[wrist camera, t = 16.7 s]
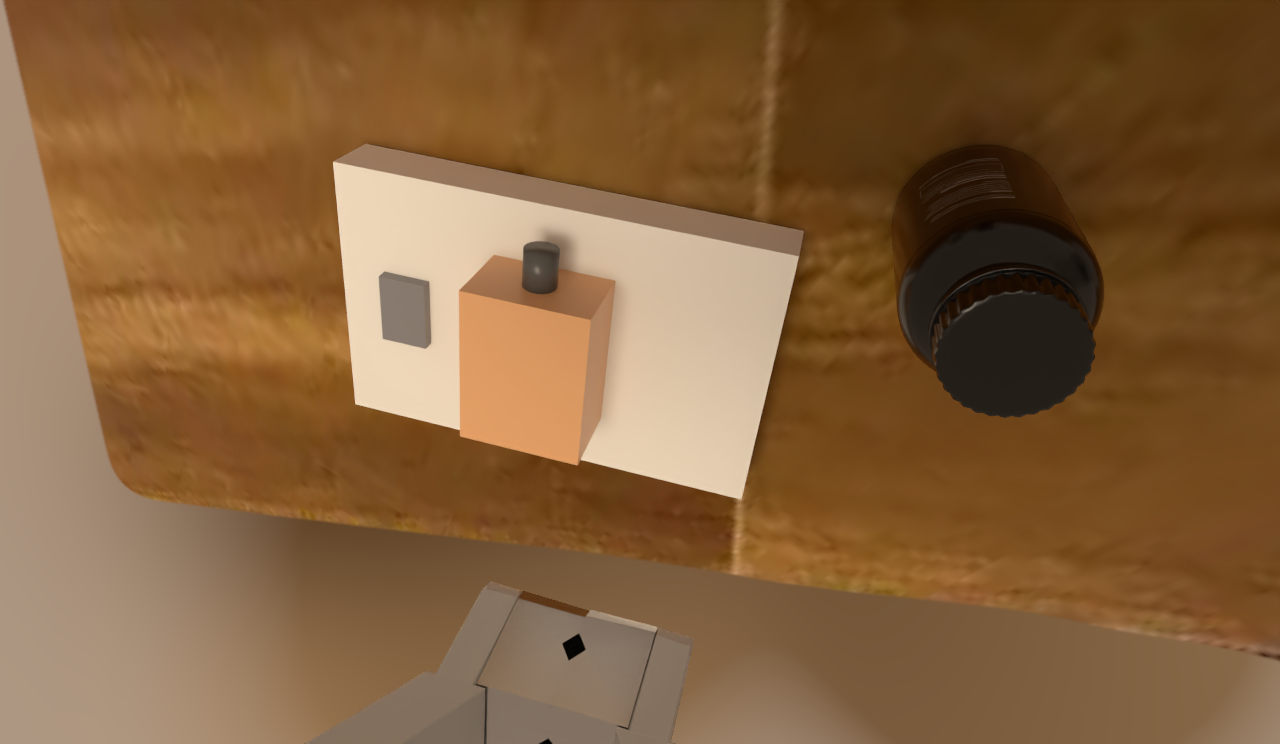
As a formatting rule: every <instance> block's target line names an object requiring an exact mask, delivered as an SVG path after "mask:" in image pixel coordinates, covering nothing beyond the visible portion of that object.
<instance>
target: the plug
mask: <svg viewBox="0 0 1280 744" xmlns="http://www.w3.org/2000/svg"><path fill="white" fill-rule="evenodd" d="M559 259H560V248H559V247H558V246H557V245H555V244H553V243H549V242H544V241H534V242H530V243H527V244H525V245H524V247H523V261H521V260H516V259H512V258H507V257H502V256H498V255H493V256H492V257H491V258H490V259H489V260H488V261H487V262H486V263H485V264H484V266H483V267H482V268H481V269H480V270H479V271H478V272H477V273H476V274H475V275H474V276H473V277H472V278H471V279H470V280H469V281H468V282H467V283H466V284H465V285H464V286H463V287H462V288H461V289H460V290H459V374H460V436H461V437H465V438H469V439H473V440H477V441H481V442H485V443H489V444H493V445H497V446H501V447H505V448H509V449H513V450H517V451H521V452H526V453H530V454H534V455H538V456H542V457H546V458H550V459H554V460H558V461H562V462H566V463H570V464H574V465H578V464H579V462H580V460H581V458H582V456H583V454H584V452H585V450H586V448H587V446H588V444H589V442H590V440H591V438H592V436H593V434H594V432H595V430H596V428H597V425H598V423H599V421H600V419H601V413H602V403H603V394H604V385H605V375H606V366H607V356H608V347H609V338H610V328H611V319H612V310H613V300H614V291H615V282H616V281H615V280H610V279H605V278H601V277H596V276H591V275H587V274H582V273H577V272H573V271H568V270H563V269H559Z"/></svg>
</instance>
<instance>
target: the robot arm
mask: <svg viewBox="0 0 1280 744" xmlns="http://www.w3.org/2000/svg"><path fill="white" fill-rule="evenodd" d="M693 641H694V638H693V637H689V636H685V635H681V634H678V633H674V632H671V631H667V630H663V629H660V628H659V629H658V627H655V626H651V625H647V624H643V623H640V622H635V621H631V620H628V619H624V618H620V617H616V616H613V615H609V614H605V613H601V612H597V611H593V610H590V611H588V610H585V609H582V608H578V607H574V606H572V605H568V604H565V603H562V602H559V601H555V600H552V599H548V598H545V597H542V596H539V595H535V594H532V593H529V592H525V591H521V590H518V589H515V588H511V587H507V586H504V585H500V584H497V583H494V582H489V583H488V584H487V585H486V586H485V587H484V588H483V589H482V590H481V592H480V594H479V596H478V598H477V599H476V601H475V603H474V605H473V607H472V609H471V610H470V612H469V614H468V616H467V618H466V620H465V621H464V623H463V625H462V627H461V629H460V631H459V632H458V634H457V636H456V638H455V640H454V642H453V644H452V645H451V647H450V649H449V651H448V653H447V654H446V656H445V658H444V660H443V662H442V664H441V665H440V667H439V669H438V671H437V673H432V672H428V671H425V672H424V673H422V674H420V675H418V676H417V677H415V678H413V679H412V680H410V681H408V682H407V683H405V684H404V685H402V686H400V687H399V688H397V689H395V690H394V691H392V692H390V693H389V694H387V695H385V696H384V697H382V698H380V699H379V700H377V701H375V702H374V703H372V704H370V705H369V706H367V707H365V708H364V709H362V710H360V711H359V712H357V713H355V714H354V715H352V716H350V717H349V718H347V719H346V720H344V721H342V722H340V723H339V724H337V725H335V726H334V727H332V728H330V729H329V730H327V731H325V732H324V733H322V734H320V735H319V736H317V737H315V738H314V739H312V740H310V741H309V742H307V743H306V744H675V743H671V739H672V735H673V731H674V727H675V722H676V717H677V713H678V709H679V705H680V700H681V696H682V691H683V687H684V682H685V678H686V673H687V669H688V665H689V661H690V656H691V652H692V647H693Z"/></svg>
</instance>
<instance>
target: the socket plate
mask: <svg viewBox="0 0 1280 744" xmlns="http://www.w3.org/2000/svg"><path fill="white" fill-rule="evenodd" d="M333 167H334V178H335V188H336V199H337V210H338V221H339V231H340V242H341V253H342V264H343V275H344V285H345V296H346V307H347V318H348V328H349V339H350V350H351V361H352V372H353V382H354V393H355V404H357V405H361V406H365V407H369V408H373V409H377V410H381V411H385V412H389V413H393V414H397V415H401V416H406V417H410V418H414V419H418V420H422V421H426V422H430V423H434V424H438V425H442V426H446V427H450V428H454V429H458V430H460V374H459V290H460V289H461V288H462V287H463V286H464V285H465V284H466V283H467V282H468V281H469V280H470V279H471V278H472V277H473V276H474V275H475V274H476V273H477V272H478V271H479V270H480V269H481V268H482V267H483V266H484V264H485V263H486V262H487V261H488V260H489V259H490V258H491V257H492V256H493V255H498V256H502V257H507V258H512V259H516V260H521V261H523V247H524V245H525V244H527V243H530V242H534V241H544V242H549V243H553V244H555V245H557V246H558V247H559V248H560V259H559V269H563V270H568V271H573V272H577V273H582V274H587V275H591V276H596V277H601V278H605V279H610V280H615V281H616V282H615V291H614V300H613V310H612V319H611V328H610V338H609V347H608V356H607V366H606V375H605V385H604V394H603V403H602V413H601V419H600V421H599V423H598V425H597V428H596V430H595V432H594V434H593V436H592V438H591V440H590V442H589V444H588V446H587V448H586V450H585V452H584V454H583V456H582V458H581V460H584V461H588V462H592V463H596V464H600V465H604V466H608V467H612V468H616V469H620V470H624V471H628V472H632V473H636V474H640V475H644V476H648V477H652V478H656V479H660V480H664V481H669V482H673V483H677V484H681V485H685V486H689V487H693V488H697V489H701V490H705V491H709V492H713V493H717V494H721V495H725V496H729V497H733V498H737V499H741V498H742V494H743V490H744V486H745V482H746V477H747V473H748V469H749V465H750V461H751V457H752V452H753V448H754V444H755V440H756V436H757V431H758V427H759V423H760V419H761V415H762V410H763V406H764V402H765V398H766V394H767V389H768V385H769V381H770V377H771V373H772V368H773V364H774V360H775V356H776V352H777V347H778V343H779V339H780V335H781V331H782V326H783V322H784V318H785V314H786V310H787V305H788V301H789V297H790V293H791V289H792V284H793V280H794V276H795V272H796V268H797V263H798V259H799V255H800V250H801V245H802V239H803V234H804V231H802V230H797V229H792V228H787V227H782V226H777V225H772V224H767V223H762V222H757V221H752V220H747V219H742V218H737V217H732V216H727V215H722V214H717V213H712V212H707V211H702V210H697V209H692V208H687V207H682V206H677V205H672V204H667V203H661V202H656V201H651V200H646V199H641V198H636V197H631V196H626V195H621V194H616V193H611V192H606V191H601V190H596V189H591V188H586V187H581V186H576V185H571V184H566V183H561V182H556V181H551V180H546V179H541V178H536V177H531V176H526V175H521V174H516V173H510V172H505V171H500V170H495V169H490V168H485V167H480V166H475V165H470V164H465V163H460V162H455V161H450V160H445V159H440V158H435V157H430V156H425V155H420V154H415V153H410V152H405V151H400V150H395V149H390V148H385V147H380V146H375V145H370V144H364V145H363V146H361V147H359V148H357V149H355V150H353V151H352V152H350V153H348V154H346V155H344V156H343V157H341V158H339V159H337V160H335V161H333Z"/></svg>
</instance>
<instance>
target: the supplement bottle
mask: <svg viewBox="0 0 1280 744" xmlns="http://www.w3.org/2000/svg"><path fill="white" fill-rule="evenodd" d="M892 246H893V260H894V273H895V287H896V301H897V311H898V318H899V322H900V326H901V330H902V332H903V335H904V337H905V339H906V341H907V343H908V345H909V346H910V348H911V349H912V351H913V352H914V353H915V354H916V355H917V357H918V358H919V359H920V360H921V361H922V362H923V363H925V364H926V365H927V366H928V367H930V368H931V369H933V370H934V371H936V373H937V377H938V379H939V380H940V381H941V382H942V384H943V388H944V389H945V390H946V391H947V392H949V393H950V394H951V396H952V398H953V399H954V400H957V401H959V402H961V404H962V405H963V407H967V408H971V409H972V410H973V411H975V412H976V413H985V414H986V415H988V416H997V415H998V416H1000V417H1004V418H1005V417H1009V416H1015V417H1021V416H1024V415H1026V414H1036V413H1038V412H1039V411H1041V410H1048V409H1050V408H1051V407H1052V406H1054V405H1055V404H1058V403H1061V402H1063V401H1064V400H1065V398H1066V397H1067V396H1069V395H1071V394H1073V393H1074V392H1075V391H1076V388H1077V387H1078V386H1080V385H1081V384H1082V383H1084V380H1085V376H1086V375H1087V374H1088V373H1089V372H1090V371H1091V363H1092V362H1093V360H1094V358H1095V355H1094V349H1095V346H1096V342H1095V340H1094V337H1093V331H1094V329H1095V327H1096V325H1097V323H1098V321H1099V318H1100V315H1101V312H1102V308H1103V302H1104V281H1103V276H1102V272H1101V269H1100V266H1099V263H1098V261H1097V259H1096V256H1095V254H1094V252H1093V251H1092V249H1091V247H1090V245H1089V243H1088V242H1087V240H1086V238H1085V236H1084V234H1083V233H1082V231H1081V229H1080V227H1079V226H1078V224H1077V222H1076V220H1075V219H1074V217H1073V215H1072V213H1071V212H1070V210H1069V208H1068V206H1067V205H1066V203H1065V201H1064V199H1063V198H1062V196H1061V194H1060V192H1059V191H1058V189H1057V187H1056V186H1055V184H1054V183H1053V181H1052V180H1051V178H1050V177H1049V175H1048V174H1047V173H1046V172H1045V171H1044V170H1043V169H1042V168H1041V167H1040V166H1039V165H1038V164H1037V163H1036V162H1035V161H1033V160H1032V159H1030V158H1029V157H1027V156H1025V155H1023V154H1021V153H1019V152H1016V151H1014V150H1011V149H1007V148H1002V147H996V146H974V147H967V148H963V149H959V150H955V151H953V152H950V153H947V154H945V155H943V156H941V157H939V158H937V159H935V160H934V161H932V162H931V163H929V164H928V165H926V166H925V167H924V168H923V169H921V170H920V171H919V172H918V173H917V174H916V175H915V176H914V177H913V178H912V179H911V181H910V182H909V183H908V184H907V186H906V187H905V189H904V190H903V192H902V194H901V196H900V197H899V200H898V202H897V205H896V208H895V211H894V216H893V222H892Z"/></svg>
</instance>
